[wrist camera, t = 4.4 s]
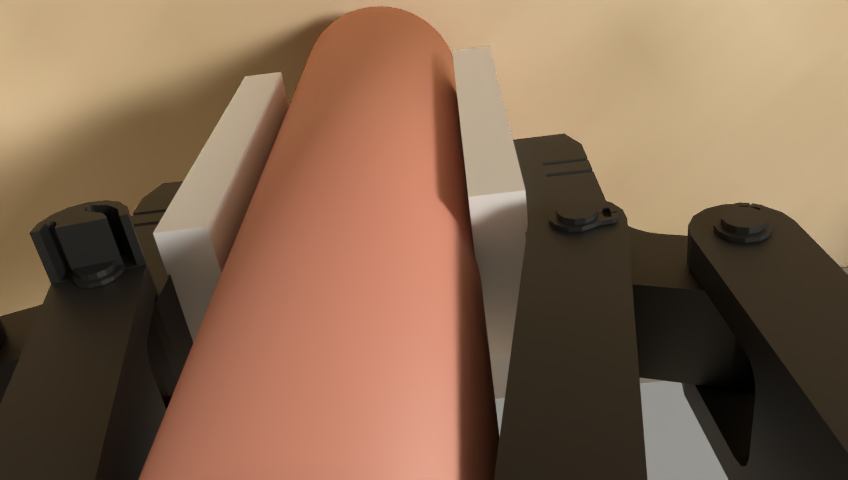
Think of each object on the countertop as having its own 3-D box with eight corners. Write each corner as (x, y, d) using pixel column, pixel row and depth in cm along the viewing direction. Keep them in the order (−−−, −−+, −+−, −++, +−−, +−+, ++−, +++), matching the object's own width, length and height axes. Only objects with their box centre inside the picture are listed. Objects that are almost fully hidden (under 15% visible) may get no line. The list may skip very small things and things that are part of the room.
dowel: (291, 17, 18) (37, 486, 6) (448, -4, 18) (501, 442, 6) (321, 159, 20) (170, 742, 8) (464, 143, 20) (531, 715, 8)
